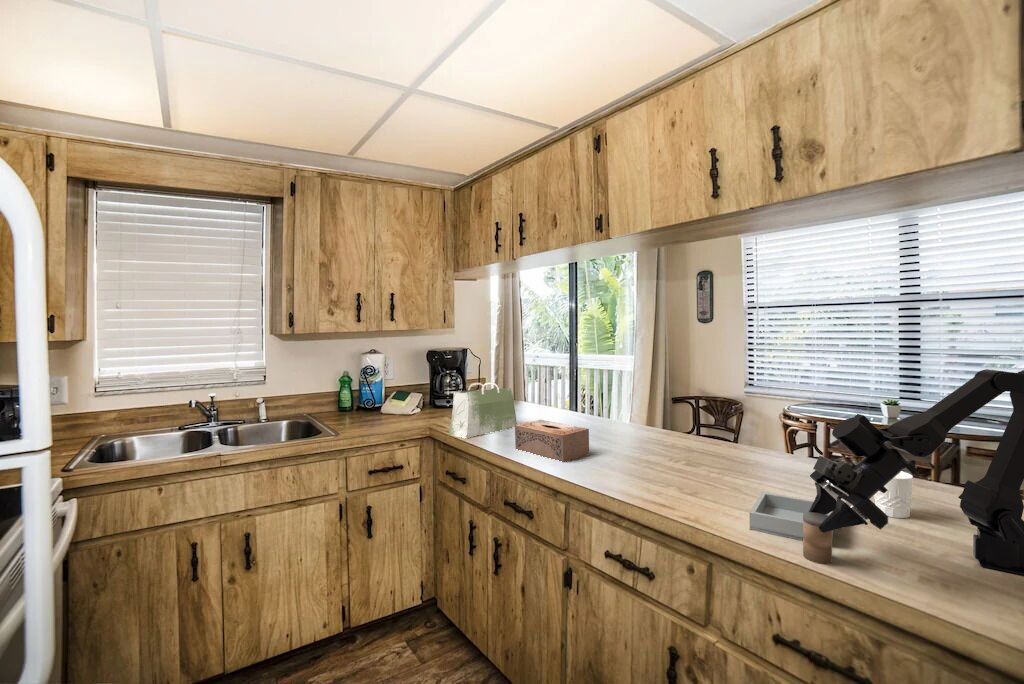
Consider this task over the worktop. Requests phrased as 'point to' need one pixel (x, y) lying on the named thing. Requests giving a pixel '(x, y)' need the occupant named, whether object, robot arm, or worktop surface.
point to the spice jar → (816, 539)
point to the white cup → (896, 496)
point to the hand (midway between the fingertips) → (814, 524)
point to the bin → (780, 515)
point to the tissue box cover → (552, 439)
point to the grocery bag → (482, 411)
